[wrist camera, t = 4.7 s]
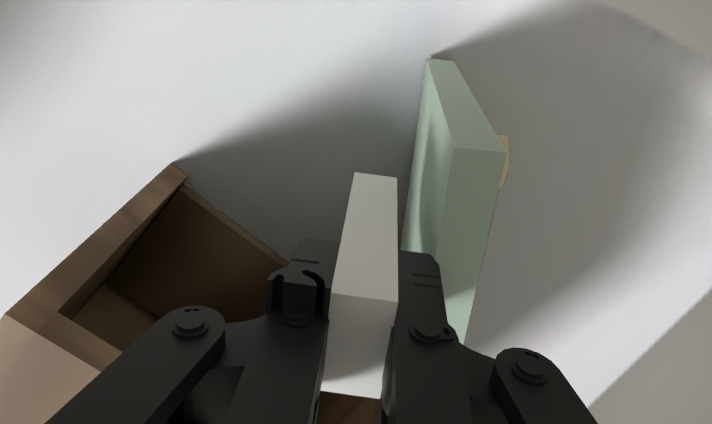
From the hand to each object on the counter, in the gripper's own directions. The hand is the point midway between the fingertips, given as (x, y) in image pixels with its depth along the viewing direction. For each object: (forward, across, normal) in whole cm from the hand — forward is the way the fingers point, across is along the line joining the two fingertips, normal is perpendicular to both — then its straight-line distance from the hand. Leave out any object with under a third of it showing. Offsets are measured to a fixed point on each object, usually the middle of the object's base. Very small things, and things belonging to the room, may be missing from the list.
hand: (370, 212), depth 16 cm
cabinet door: (+8, +3, -4) cm, 9 cm away
